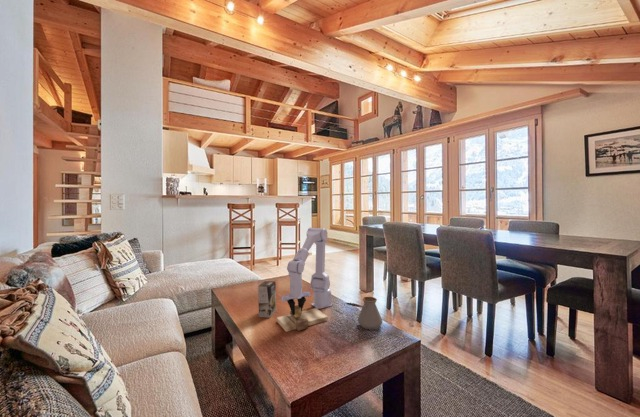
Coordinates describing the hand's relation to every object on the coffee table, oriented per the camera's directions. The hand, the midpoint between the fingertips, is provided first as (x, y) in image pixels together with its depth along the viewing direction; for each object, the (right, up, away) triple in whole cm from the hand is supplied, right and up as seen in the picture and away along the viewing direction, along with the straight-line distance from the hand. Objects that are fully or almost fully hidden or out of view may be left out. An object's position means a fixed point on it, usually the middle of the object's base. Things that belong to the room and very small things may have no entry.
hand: (296, 313), depth 130 cm
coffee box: (-16, -5, +12) cm, 21 cm away
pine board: (+3, -5, +3) cm, 6 cm away
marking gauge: (0, -5, 0) cm, 5 cm away
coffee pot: (+31, -5, -7) cm, 32 cm away
